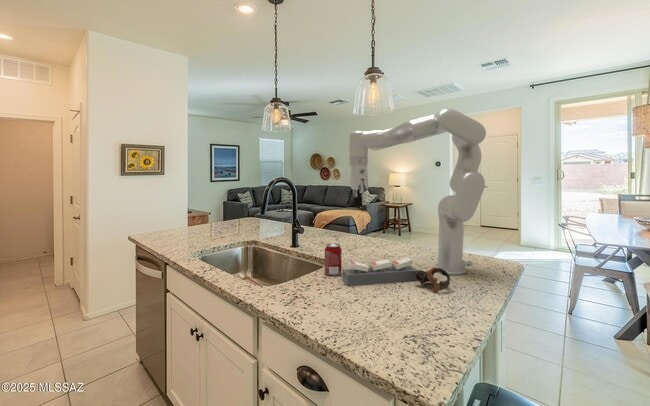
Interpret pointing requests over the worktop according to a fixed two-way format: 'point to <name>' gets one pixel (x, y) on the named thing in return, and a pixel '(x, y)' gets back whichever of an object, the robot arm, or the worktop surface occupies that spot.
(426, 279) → the brown looped band
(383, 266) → the rocker
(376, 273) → the power strip
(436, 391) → the worktop surface
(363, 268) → the rocker
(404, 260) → the rocker
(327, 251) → the soda can
